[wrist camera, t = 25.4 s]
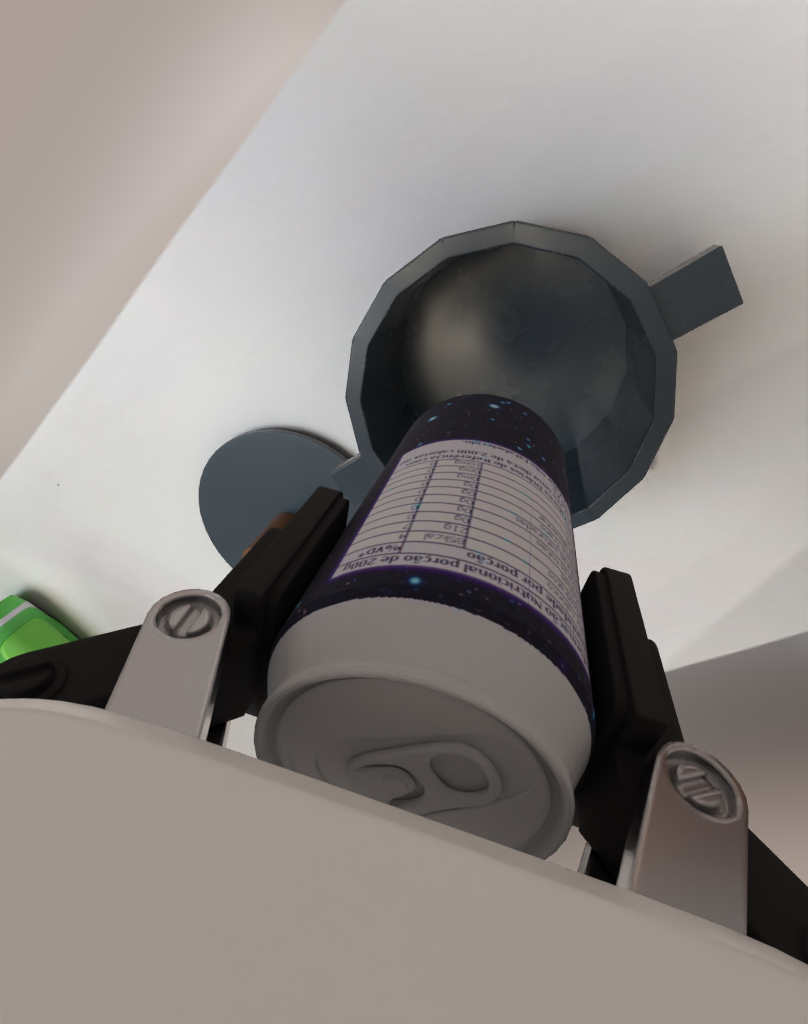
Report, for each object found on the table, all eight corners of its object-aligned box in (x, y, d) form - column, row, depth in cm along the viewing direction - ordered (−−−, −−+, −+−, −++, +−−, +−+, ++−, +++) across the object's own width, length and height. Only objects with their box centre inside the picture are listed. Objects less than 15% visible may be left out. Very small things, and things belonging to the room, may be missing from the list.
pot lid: (171, 482, 40) (116, 519, 35) (305, 386, 33) (262, 415, 28) (288, 617, 45) (255, 668, 40) (428, 558, 38) (410, 610, 33)
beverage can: (375, 429, 18) (159, 695, 8) (523, 354, 15) (494, 599, 5) (447, 551, 20) (352, 893, 9) (589, 502, 17) (664, 892, 7)
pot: (316, 348, 32) (251, 383, 25) (623, 117, 23) (662, 67, 16) (434, 521, 36) (409, 593, 29) (731, 384, 27) (800, 439, 20)
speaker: (2, 604, 55) (-68, 653, 49) (29, 580, 52) (-42, 629, 45) (120, 706, 60) (70, 762, 53) (152, 690, 56) (103, 748, 50)
